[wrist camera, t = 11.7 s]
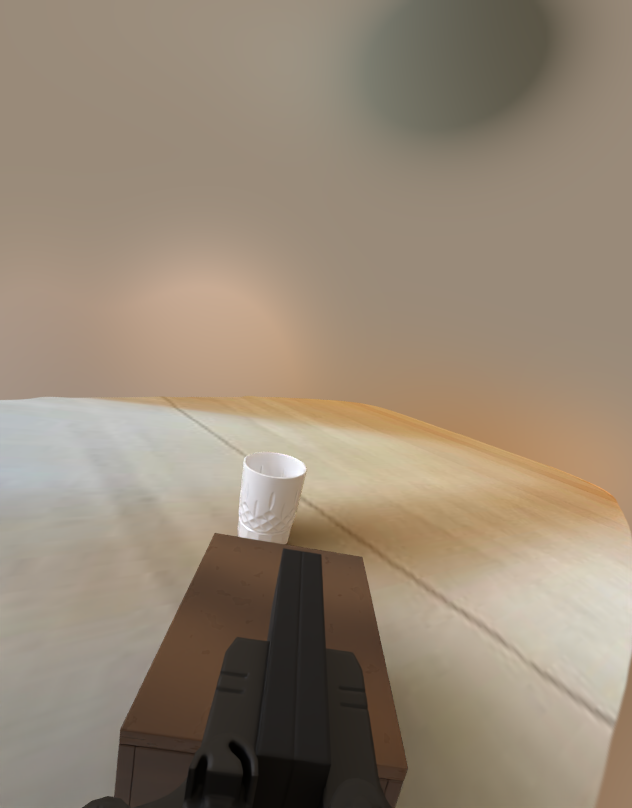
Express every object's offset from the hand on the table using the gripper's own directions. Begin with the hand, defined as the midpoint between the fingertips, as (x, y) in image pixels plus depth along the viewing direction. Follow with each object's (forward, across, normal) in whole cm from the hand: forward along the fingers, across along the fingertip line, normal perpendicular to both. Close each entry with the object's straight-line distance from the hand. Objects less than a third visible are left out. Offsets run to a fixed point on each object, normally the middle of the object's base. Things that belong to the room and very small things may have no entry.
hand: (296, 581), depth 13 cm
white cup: (+29, -2, -18) cm, 34 cm away
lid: (+7, 0, -9) cm, 11 cm away
